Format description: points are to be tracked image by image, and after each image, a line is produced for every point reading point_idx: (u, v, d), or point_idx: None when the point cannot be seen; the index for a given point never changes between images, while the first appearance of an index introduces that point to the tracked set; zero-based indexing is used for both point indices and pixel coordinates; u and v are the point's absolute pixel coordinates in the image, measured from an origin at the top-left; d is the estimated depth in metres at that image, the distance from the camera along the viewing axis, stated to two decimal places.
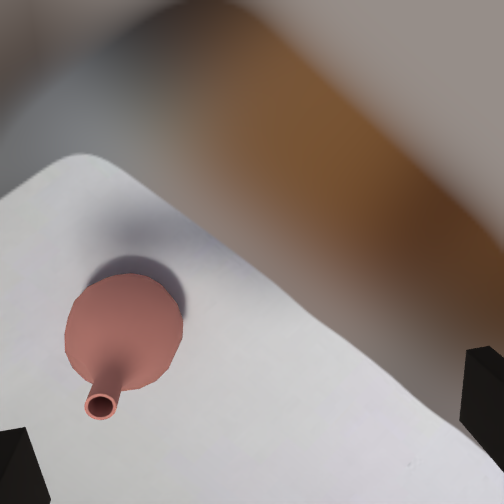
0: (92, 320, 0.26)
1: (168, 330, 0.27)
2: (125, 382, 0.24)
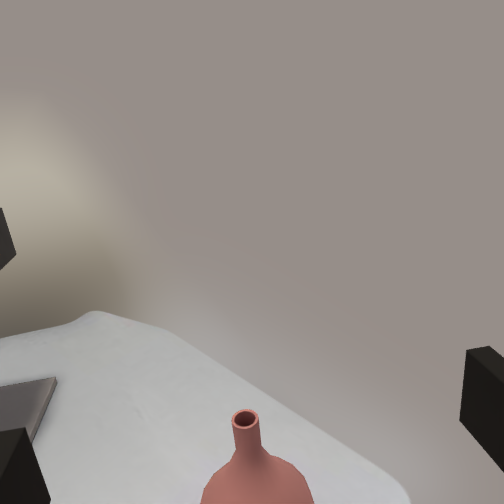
0: (284, 462, 0.28)
1: None
2: (244, 465, 0.25)
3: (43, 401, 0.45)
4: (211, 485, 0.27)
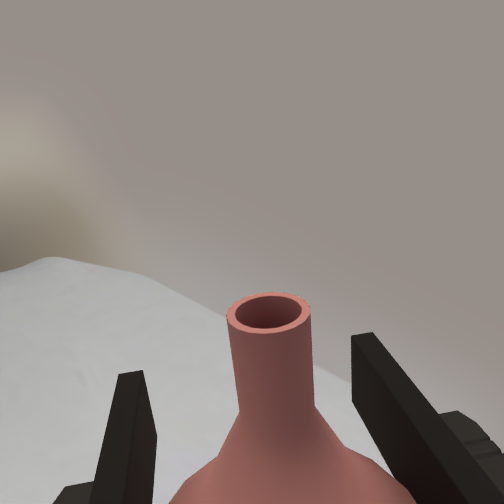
0: (358, 454, 0.11)
1: None
2: (265, 456, 0.08)
3: None
4: None
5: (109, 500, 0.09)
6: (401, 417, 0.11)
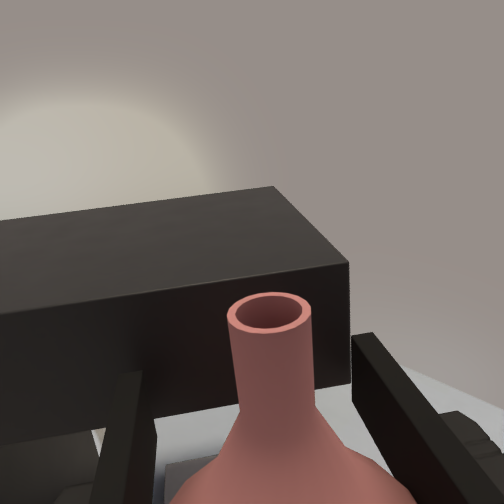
0: (359, 454, 0.11)
1: None
2: (266, 457, 0.08)
3: None
4: None
5: (109, 500, 0.09)
6: (401, 417, 0.11)
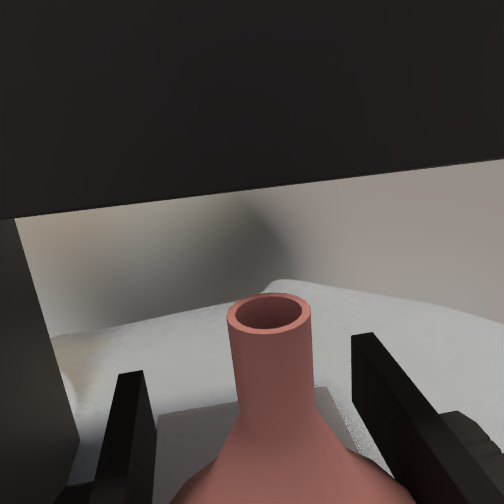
0: (359, 455, 0.11)
1: None
2: (265, 457, 0.08)
3: (350, 439, 0.22)
4: None
5: (109, 500, 0.09)
6: (401, 417, 0.11)
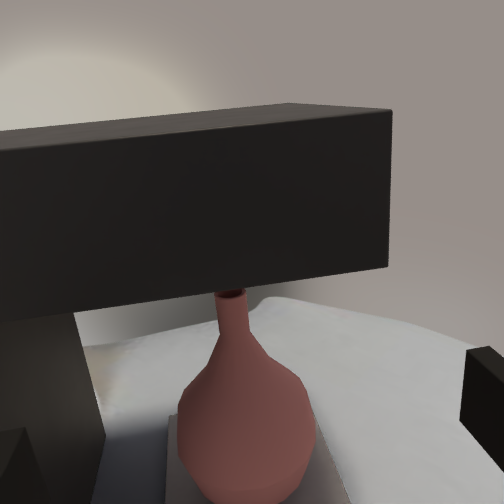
0: (276, 361, 0.24)
1: (268, 432, 0.20)
2: (229, 347, 0.21)
3: (320, 434, 0.28)
4: (192, 383, 0.23)
5: None
6: None
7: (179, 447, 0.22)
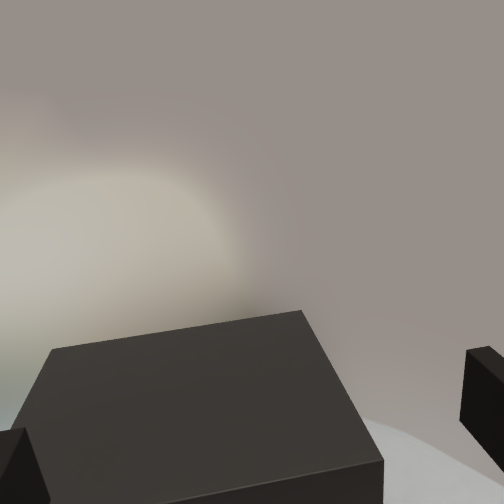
0: None
1: None
2: None
3: None
4: None
5: None
6: None
7: None
